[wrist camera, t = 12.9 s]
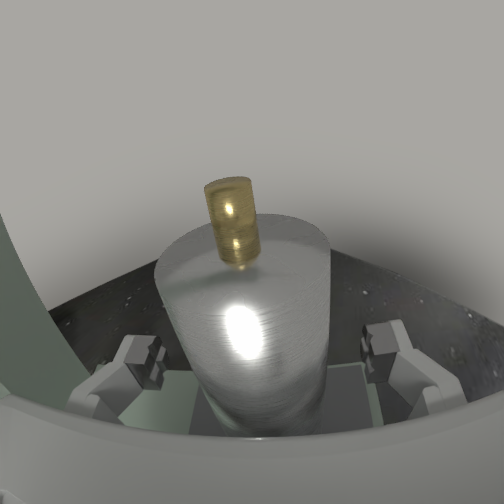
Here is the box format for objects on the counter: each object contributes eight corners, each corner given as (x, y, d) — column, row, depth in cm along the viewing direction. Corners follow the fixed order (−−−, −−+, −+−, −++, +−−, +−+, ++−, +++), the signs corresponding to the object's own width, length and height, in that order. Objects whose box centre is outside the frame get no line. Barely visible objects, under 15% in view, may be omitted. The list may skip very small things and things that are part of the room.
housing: (235, 480, 14) (95, 242, 6) (242, 414, 18) (167, 171, 10) (321, 479, 13) (348, 216, 5) (317, 410, 17) (314, 152, 9)
